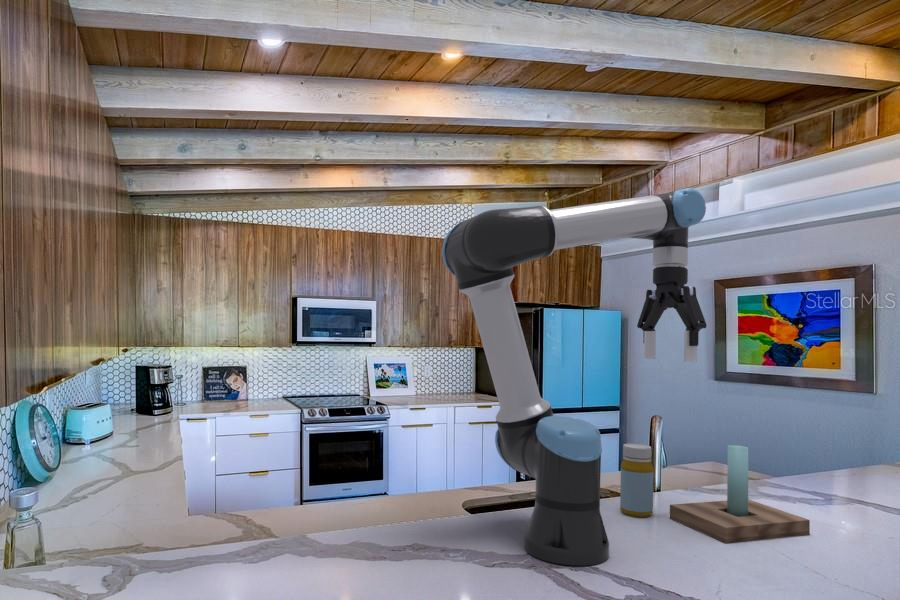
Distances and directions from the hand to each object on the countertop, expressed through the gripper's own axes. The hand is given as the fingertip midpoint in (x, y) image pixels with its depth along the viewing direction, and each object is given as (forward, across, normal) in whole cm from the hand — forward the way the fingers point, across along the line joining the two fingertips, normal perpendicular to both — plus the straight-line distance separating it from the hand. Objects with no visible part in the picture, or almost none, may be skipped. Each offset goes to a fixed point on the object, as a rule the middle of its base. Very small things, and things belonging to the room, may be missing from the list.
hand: (669, 360), depth 134 cm
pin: (+34, -10, -10) cm, 37 cm away
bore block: (+35, -10, -10) cm, 37 cm away
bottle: (+35, +3, +6) cm, 36 cm away
